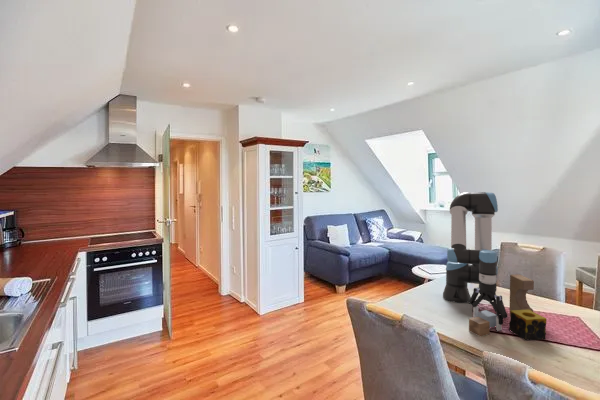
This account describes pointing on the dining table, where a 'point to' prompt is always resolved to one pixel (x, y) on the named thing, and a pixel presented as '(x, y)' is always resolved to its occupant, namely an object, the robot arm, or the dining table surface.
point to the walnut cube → (479, 326)
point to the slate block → (488, 317)
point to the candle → (527, 324)
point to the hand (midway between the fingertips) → (486, 324)
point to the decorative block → (519, 292)
